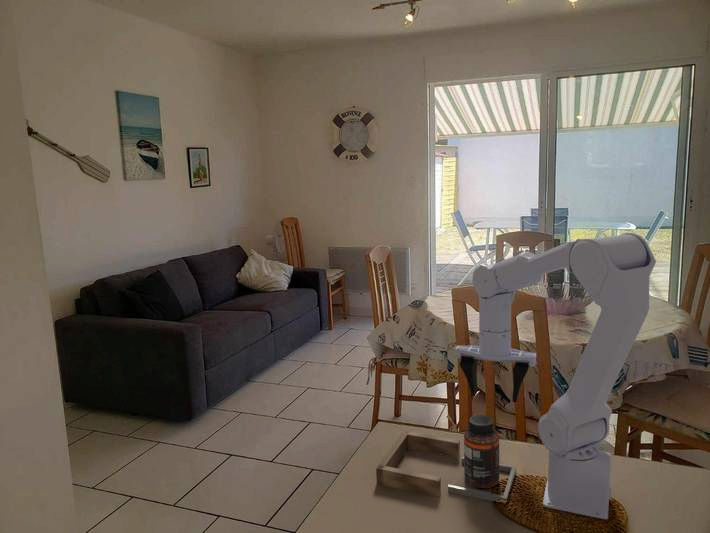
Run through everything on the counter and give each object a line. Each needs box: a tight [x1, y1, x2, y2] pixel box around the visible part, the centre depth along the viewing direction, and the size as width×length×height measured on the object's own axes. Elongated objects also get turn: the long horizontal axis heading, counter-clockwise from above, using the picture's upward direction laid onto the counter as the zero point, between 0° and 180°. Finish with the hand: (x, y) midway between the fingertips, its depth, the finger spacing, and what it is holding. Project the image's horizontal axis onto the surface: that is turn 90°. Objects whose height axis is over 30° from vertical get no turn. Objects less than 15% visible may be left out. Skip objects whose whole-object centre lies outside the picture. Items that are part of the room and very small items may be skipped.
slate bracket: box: [447, 456, 517, 502], centre depth 96 cm, size 10×10×1 cm
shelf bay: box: [375, 430, 461, 498], centre depth 100 cm, size 11×14×3 cm
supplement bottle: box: [463, 414, 500, 489], centre depth 95 cm, size 6×6×11 cm
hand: (494, 397), depth 105 cm, fingers open, 7 cm apart
